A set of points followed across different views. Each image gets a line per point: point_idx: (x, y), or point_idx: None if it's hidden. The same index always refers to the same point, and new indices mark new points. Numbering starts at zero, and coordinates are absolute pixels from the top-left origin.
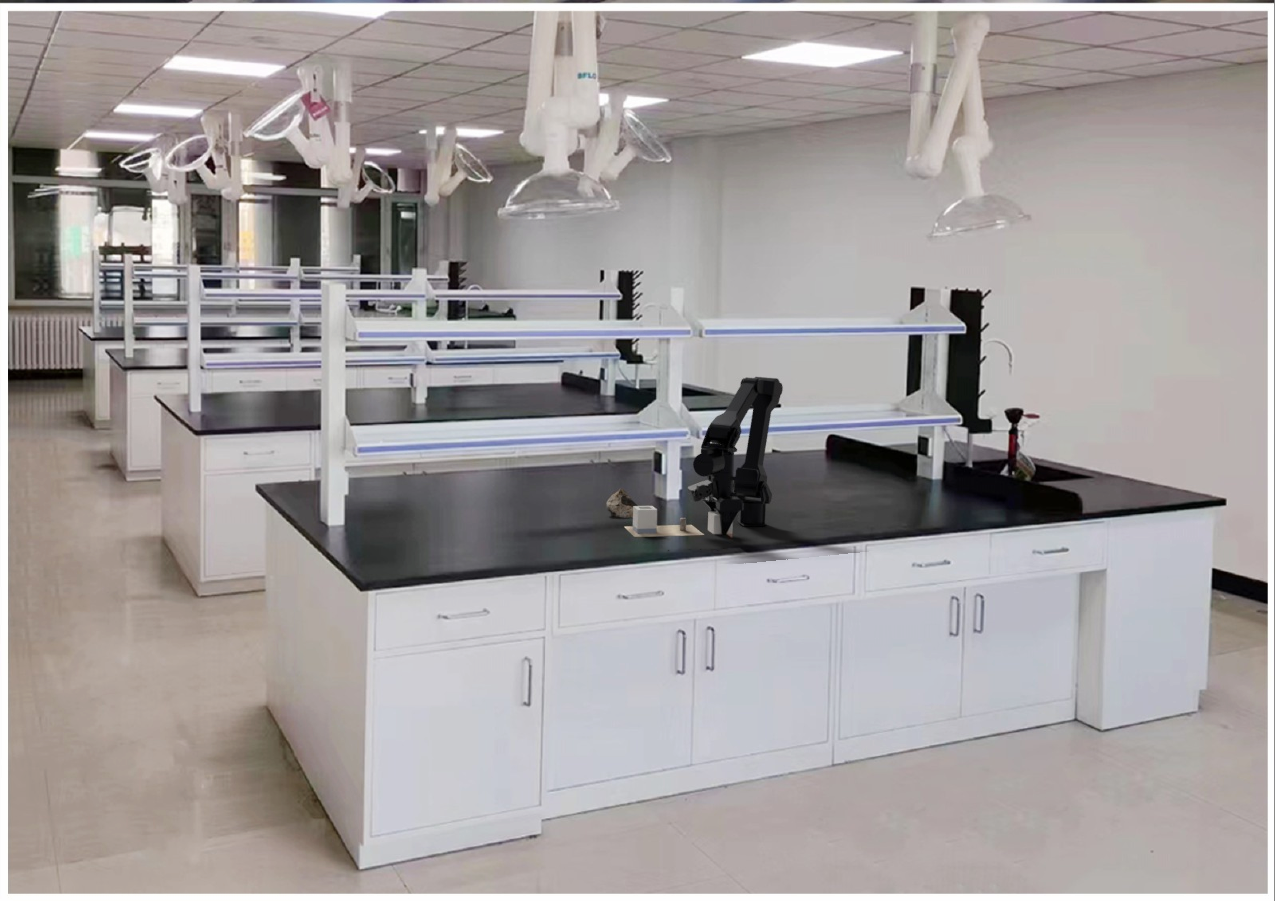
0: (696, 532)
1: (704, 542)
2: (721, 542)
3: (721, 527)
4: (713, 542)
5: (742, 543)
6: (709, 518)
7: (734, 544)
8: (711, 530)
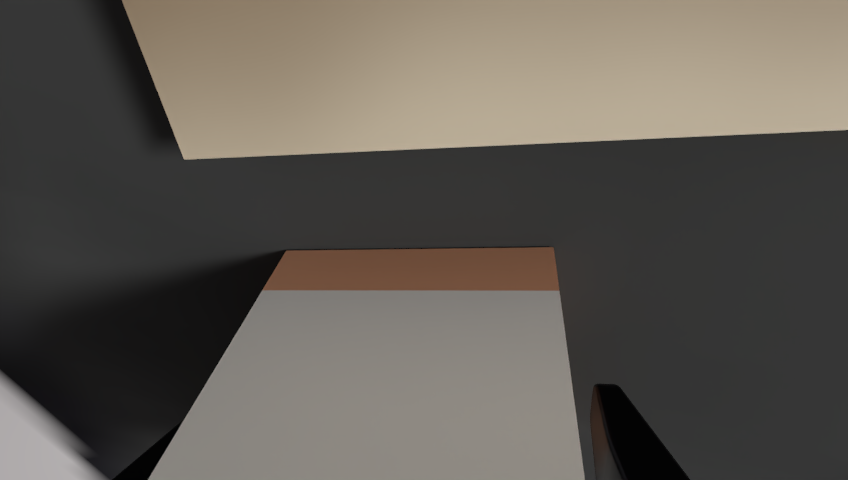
0: (355, 59)
1: (41, 89)
2: (119, 286)
3: (166, 444)
4: (87, 205)
5: (139, 426)
6: (475, 476)
7: (73, 366)
8: (350, 312)
